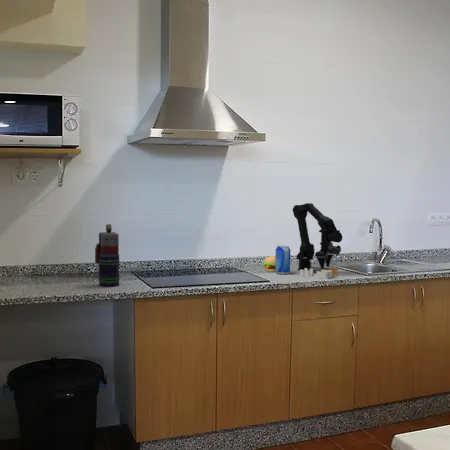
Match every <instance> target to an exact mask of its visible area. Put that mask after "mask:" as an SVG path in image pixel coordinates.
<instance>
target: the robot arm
mask: <svg viewBox="0 0 450 450" xmlns="http://www.w3.org/2000/svg"><path fill="white" fill-rule="evenodd" d="M292 212H293V217H294V218H295V219H296V221H297V225H298V231H299V237H300V243H301V244H300V246H299V251H298V253H297V254H296V260H298V268H297V270H299V271H300V270H304V268H308V270H309V271H310V268H311V267H312V262H311V261H312V260H313V259H314V255H315V257H316V259H317V261H318V264H319V266H320V267H321V269H324V268H325V266H326V268H330V265H331V260H332V258H333V257H335V255H336V256H339V255H340V253H341V252H342V248H341V246H340V244H339V245H333V243H341V242H342V240H343V234H342V233H341V231H340V229H339V230H338V229H337V227H336V224H335V221H334V220H333V219H332V218H330V217H329V216H326V215H325V214H323V213H322V212H321V211H320V210H319V209H318V208H317V207H315V204H314V203H310V202H309V203H307V202H306V203H303V204H295V205H294V206H293V207H292ZM308 213H309V215H311V216H312V217H313V219H315V220H316V221H317V225H318V226H319V227H320V229H319V230H318V233H321V235H320V236H321V237H320V242H319V245H320V249H319V250H318V251H316V252H315V245H314V243H311V241H310V236H309V229H308V223H307V219H306V218H307V217H308Z"/></svg>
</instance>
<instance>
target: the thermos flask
mask: <svg viewBox="0 0 450 450" xmlns="http://www.w3.org/2000/svg"><path fill="white" fill-rule="evenodd" d="M119 243H120V241H119V233H118V232H114V231H112V224H111V223H110V224H109V223H107V224H106V225H105V231H103V232H98V243H96V245H95V248H94V263H95V264H99V258H100V257H99V255H101V254H118V255H119V256H120V254H119V249H120V248H119ZM99 274H100V267H99V266H98V275H99Z"/></svg>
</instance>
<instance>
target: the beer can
mask: <svg viewBox="0 0 450 450" xmlns="http://www.w3.org/2000/svg"><path fill="white" fill-rule="evenodd" d="M274 256H275V272H274V273H275V274H277V275H289V274H290V272H291V248H290V245H286V244H282V245H281V244H279V245H277V247H276V249H275V254H274Z"/></svg>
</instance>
